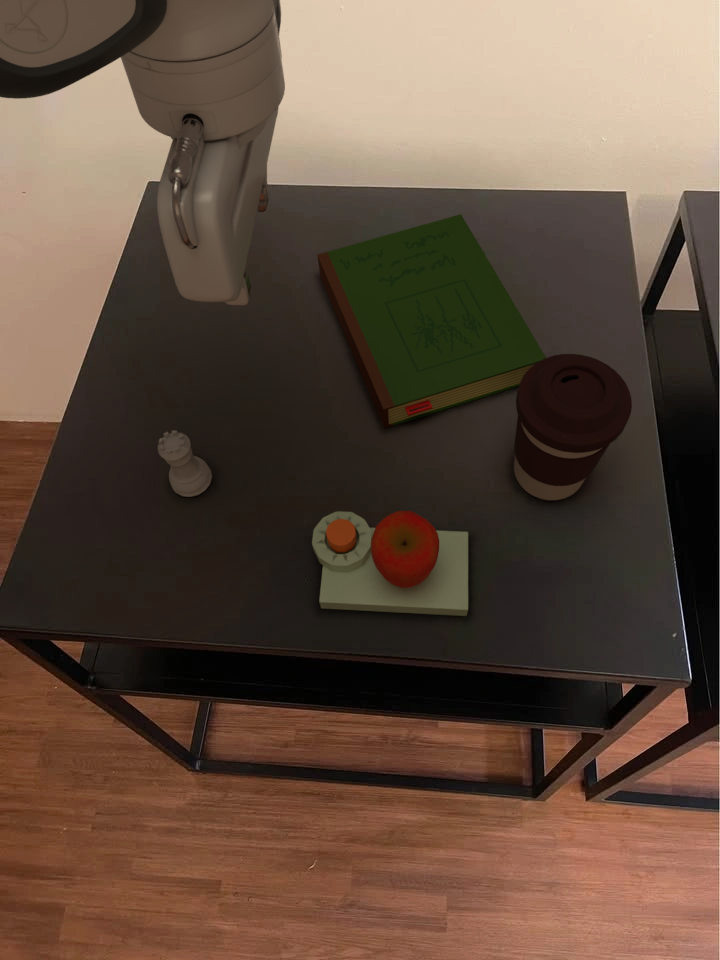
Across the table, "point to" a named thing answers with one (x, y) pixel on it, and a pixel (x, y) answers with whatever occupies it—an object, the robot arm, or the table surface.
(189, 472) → the rook chess piece
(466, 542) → the scale
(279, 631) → the table surface
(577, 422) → the coffee cup
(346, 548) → the button
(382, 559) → the apple
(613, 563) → the table surface
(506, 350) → the hardcover book
